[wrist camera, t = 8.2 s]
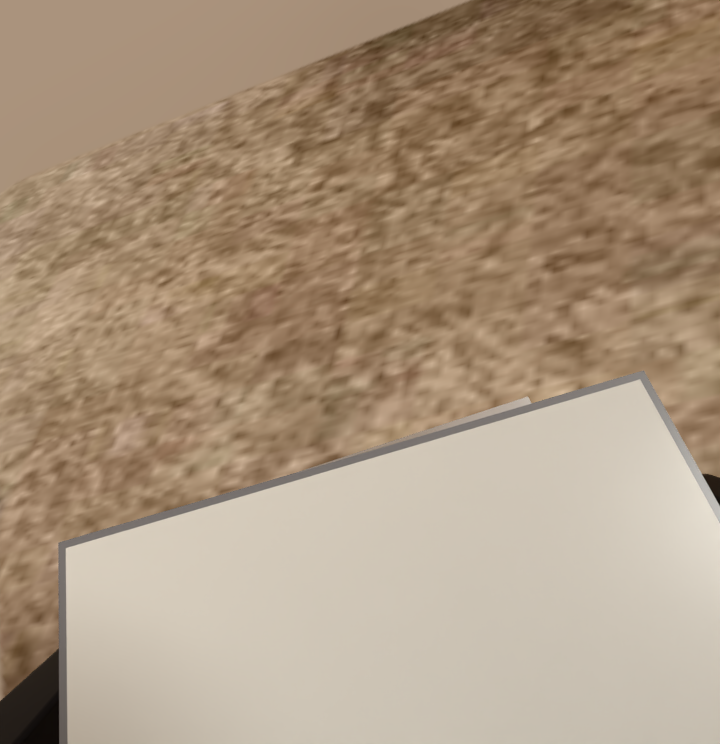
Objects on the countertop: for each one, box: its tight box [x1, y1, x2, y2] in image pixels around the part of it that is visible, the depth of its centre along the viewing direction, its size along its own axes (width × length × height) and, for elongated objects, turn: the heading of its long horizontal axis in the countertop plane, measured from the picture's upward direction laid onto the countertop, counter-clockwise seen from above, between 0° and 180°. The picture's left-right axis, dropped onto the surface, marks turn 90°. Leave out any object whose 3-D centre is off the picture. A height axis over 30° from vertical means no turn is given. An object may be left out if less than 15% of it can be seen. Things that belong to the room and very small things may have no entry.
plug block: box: [59, 371, 720, 744], centre depth 9 cm, size 4×4×13 cm
